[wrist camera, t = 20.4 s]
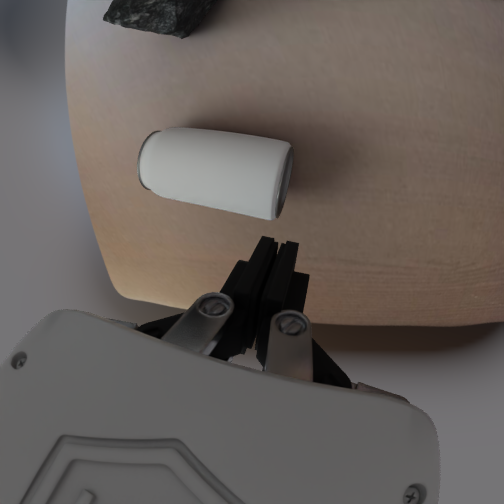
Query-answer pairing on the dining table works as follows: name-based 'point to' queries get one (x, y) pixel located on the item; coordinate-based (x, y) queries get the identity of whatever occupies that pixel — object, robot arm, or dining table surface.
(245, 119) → the dining table surface
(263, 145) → the can
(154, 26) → the rock
